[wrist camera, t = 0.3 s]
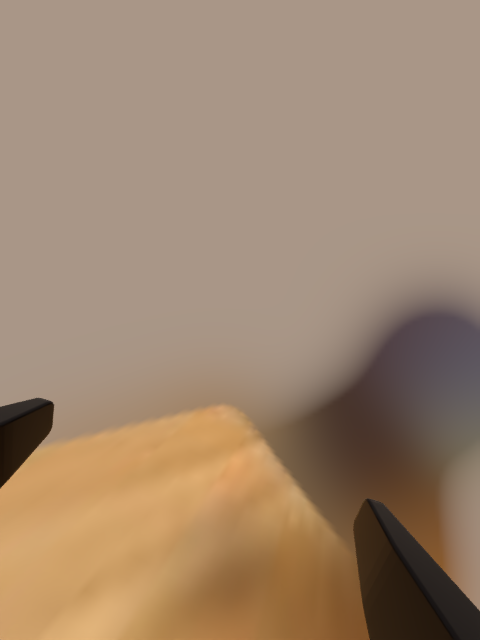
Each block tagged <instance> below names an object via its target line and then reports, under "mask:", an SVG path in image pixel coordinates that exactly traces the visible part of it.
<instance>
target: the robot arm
mask: <svg viewBox="0 0 480 640" xmlns="http://www.w3.org/2000/svg"><path fill="white" fill-rule="evenodd" d="M53 412H54V404H53V402H51V401H49V400H46V399H42V398H35V399H31V400H26V401H22V402H18V403H14V404H10V405H6V406H2V407H0V488H1V487H2V486H3V485H4V484H5V483H6V482H7V481H8V480H9V479H10V477H11V476H12V475H13V474H14V473H15V472H16V471H17V470H18V468H19V467H20V466H21V465H22V464H23V463H24V462H25V460H26V459H27V458H28V457H29V456H30V455H31V454H32V452H33V451H34V450H35V449H36V448H37V447H38V446H39V444H40V443H41V442H42V441H43V440H44V439H45V438H46V437H47V435H48V434H49V432H50V431H51V428H52V425H53ZM353 531H354V539H355V548H356V556H357V564H358V572H359V580H360V589H361V596H362V603H363V608H364V613H365V618H366V623H367V628H368V633H369V638H370V640H480V611H479V610H478V609H477V607H476V606H475V605H474V604H473V603H472V602H471V601H470V600H469V599H468V598H467V597H466V595H465V594H464V593H463V592H462V591H461V590H460V589H459V587H458V586H457V585H456V584H455V583H454V582H453V581H452V580H451V579H450V577H449V576H448V575H447V574H446V573H445V572H444V571H443V570H442V568H441V567H440V566H439V565H438V564H437V563H436V562H435V561H434V560H433V559H432V557H431V556H430V555H429V554H428V553H427V552H426V551H425V550H424V548H423V547H422V546H421V545H420V544H419V543H418V542H417V541H416V540H415V538H414V537H413V536H412V535H411V534H410V533H409V532H408V531H407V530H406V528H405V527H404V526H403V525H402V524H401V523H400V522H399V521H398V520H397V518H396V517H395V516H394V515H393V514H392V513H391V512H390V511H389V510H388V508H387V507H385V505H384V504H383V503H381V502H379V501H375V500H372V499H365V500H364V501H363V503H362V505H361V508H360V510H359V512H358V514H357V516H356V518H355V521H354V526H353Z"/></svg>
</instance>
